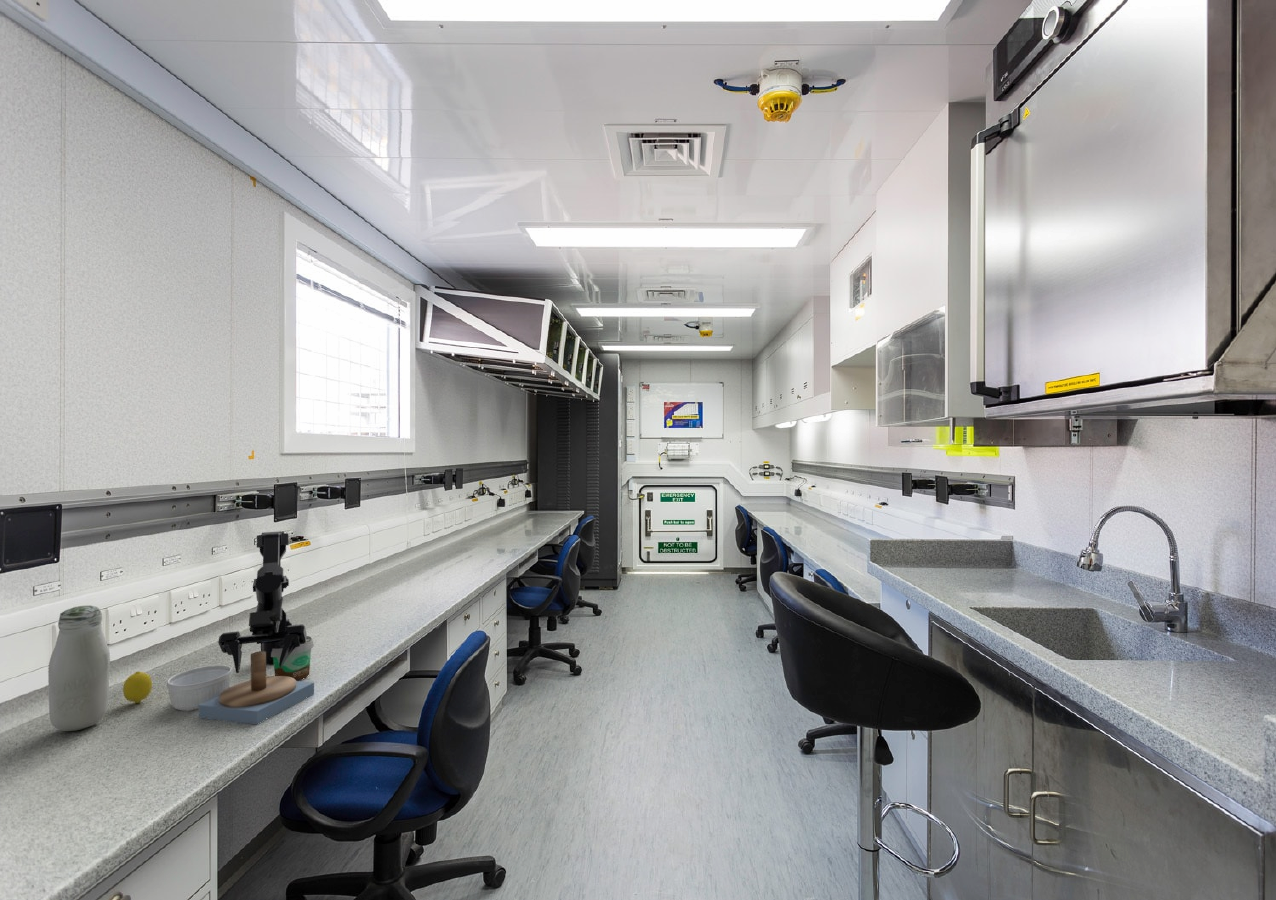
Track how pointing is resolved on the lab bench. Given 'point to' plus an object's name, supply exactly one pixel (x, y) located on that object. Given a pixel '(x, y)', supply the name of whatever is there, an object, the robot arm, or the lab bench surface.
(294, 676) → the food container
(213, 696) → the ramekin
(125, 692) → the lemon
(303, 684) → the mat
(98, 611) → the glass bottle
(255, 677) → the lid
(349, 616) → the lab bench surface
